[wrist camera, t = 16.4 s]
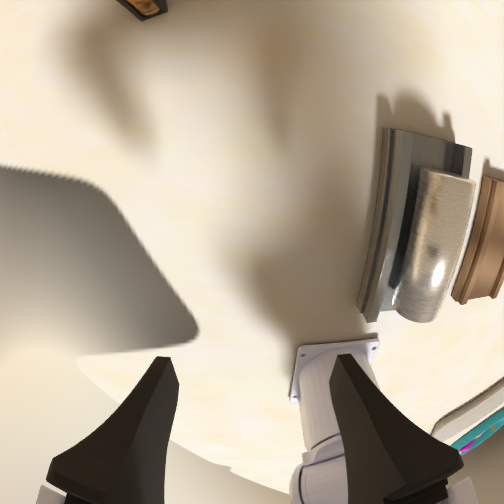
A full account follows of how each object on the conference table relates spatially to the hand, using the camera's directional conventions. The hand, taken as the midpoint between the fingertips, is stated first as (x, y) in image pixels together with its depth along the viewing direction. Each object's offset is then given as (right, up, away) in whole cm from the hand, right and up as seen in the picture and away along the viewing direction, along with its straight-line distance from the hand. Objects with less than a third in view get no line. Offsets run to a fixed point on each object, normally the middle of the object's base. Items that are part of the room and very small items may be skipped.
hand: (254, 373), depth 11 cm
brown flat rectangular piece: (+23, +6, +8) cm, 25 cm away
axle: (+12, +6, +6) cm, 15 cm away
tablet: (+51, -30, +27) cm, 66 cm away
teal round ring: (+78, -58, +42) cm, 106 cm away
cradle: (+12, +7, +7) cm, 16 cm away
